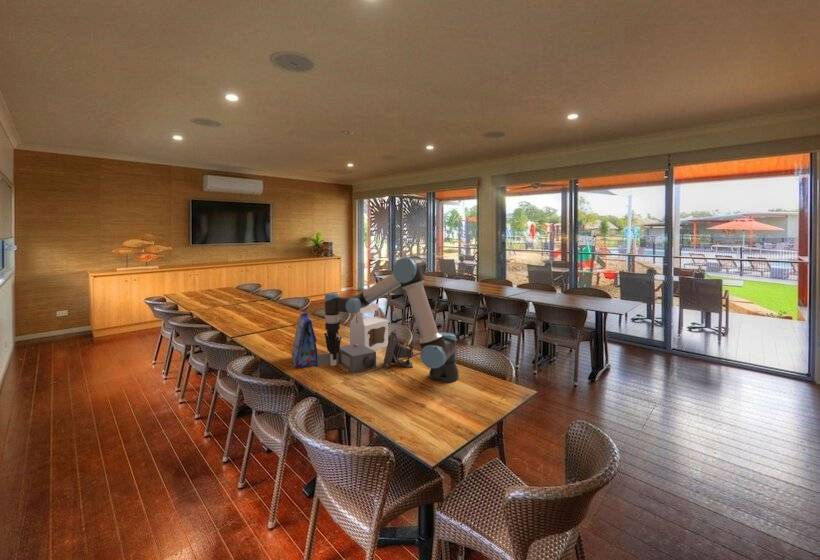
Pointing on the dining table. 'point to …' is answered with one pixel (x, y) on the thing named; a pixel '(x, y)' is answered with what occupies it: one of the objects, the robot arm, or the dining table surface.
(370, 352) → the box
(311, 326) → the lunch bag
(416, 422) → the dining table surface
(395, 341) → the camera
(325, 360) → the side door
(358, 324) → the gable box
